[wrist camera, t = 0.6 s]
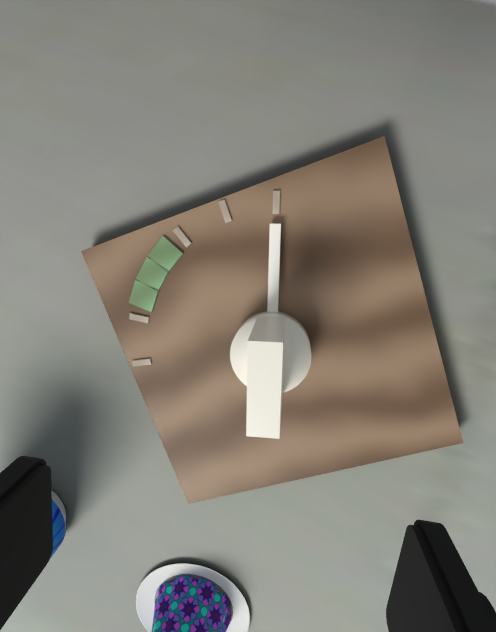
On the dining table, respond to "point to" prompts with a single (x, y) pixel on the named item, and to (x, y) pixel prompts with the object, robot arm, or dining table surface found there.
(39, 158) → the dining table surface
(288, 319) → the tuning knob
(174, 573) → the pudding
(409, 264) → the dial board
